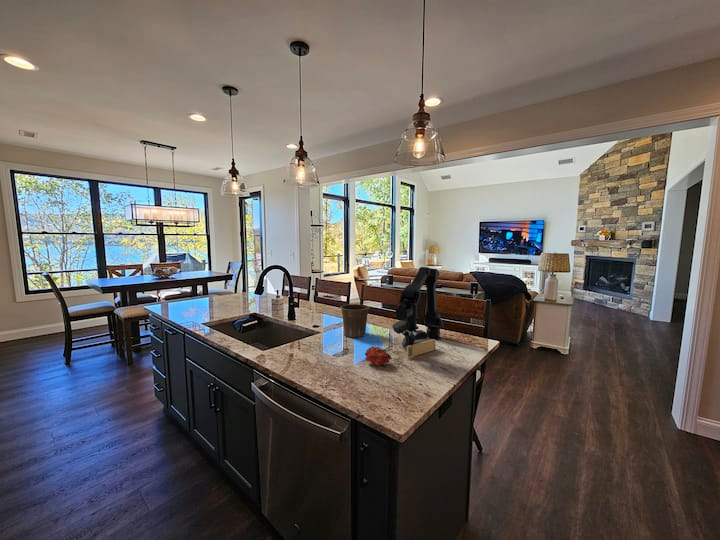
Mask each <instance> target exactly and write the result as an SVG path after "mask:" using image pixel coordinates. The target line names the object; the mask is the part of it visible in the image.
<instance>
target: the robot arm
mask: <svg viewBox="0 0 720 540" xmlns="http://www.w3.org/2000/svg"><path fill="white" fill-rule="evenodd" d="M439 277H440V271H439V270H438V269H437V268H431V267H429V266H421V267H419V268H418V272H417V273H416V275H415V277H414V278H413V280H412V282H411V283H410V284H407V285H406V286H405V287H404V288H403V290H402V291H401V294H400V298H399V301H398V303H399V307H396V309H395V311H394V312H395V313H394V316H395V318H396V319H398V321H397V322H395V323H393V324H391V326H392V330H393V332H394V333H396V334H398V335H400V334H402V335H403V336H404V338H406V342H407V345H408V346H409V345H413V343H414V341H415V340H420V339H427V337H428V338H430V339H435V340H440V339H442V338H443V337H441V335H440V334H441V329H443V327H444V323H443V319H442V317H441V313H440V312H439V310H438V307H437V290H436V289H437V287H436V284H437V282H438V281H439ZM424 284H425V285H426V287H425V288H426V302H427V312H426V313H425V314H424V327H426V328H427V329H426V331H424V330H423V329H420V330H419V326H417V322H418V321H419V320H420V318H419V317H418V305H419V302H420V298H421V294H422V293H421V289H422V288H423V285H424Z"/></svg>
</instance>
